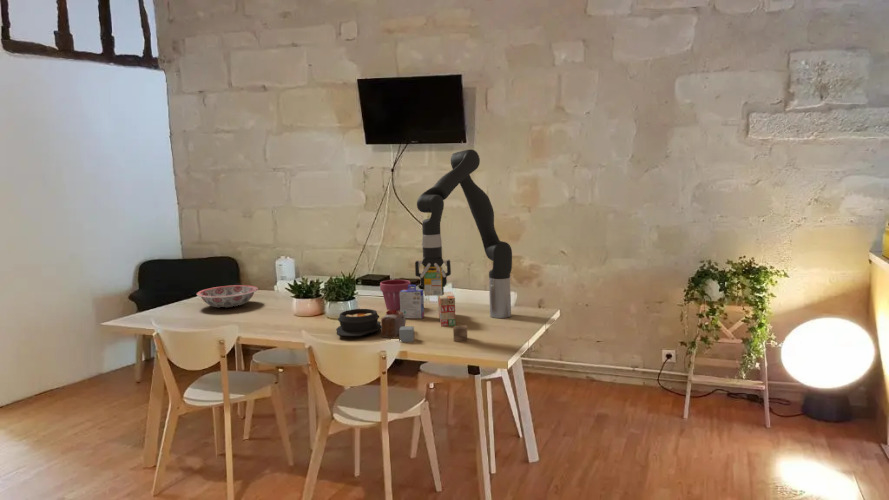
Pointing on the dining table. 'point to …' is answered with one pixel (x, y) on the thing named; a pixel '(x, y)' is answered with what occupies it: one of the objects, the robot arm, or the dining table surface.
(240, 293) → the ceramic bowl
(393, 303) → the plant pot
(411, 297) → the ink cartridge box
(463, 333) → the walnut block
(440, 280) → the crayon box
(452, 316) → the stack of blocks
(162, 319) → the dining table surface
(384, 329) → the food item
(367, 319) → the casserole
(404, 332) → the slate-grey block
